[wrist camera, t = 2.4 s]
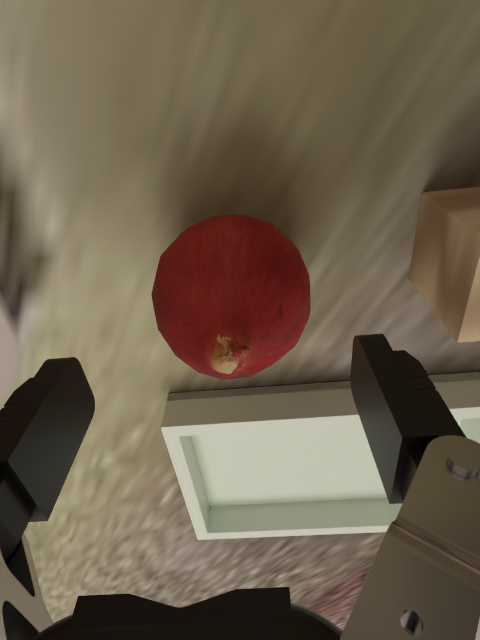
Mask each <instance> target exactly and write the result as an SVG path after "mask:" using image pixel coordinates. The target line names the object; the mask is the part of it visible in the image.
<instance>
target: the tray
mask: <svg viewBox="0 0 480 640" xmlns="http://www.w3.org/2000/svg"><path fill="white" fill-rule="evenodd" d="M428 378H429V379H431V381H432V382H433V384H434V386H435V387H436V391H438V392H439V394H440V395H441V397H442V399H443V400H444V402H445V404H446V405H447V407H448V408H449V410H450V412H451V413H452V415H453V417H454V418H455V420H456V421H457V423H458V425H459V426H460V428H461V429H462V431H463V433H464V434H465V436H466V437H467V438H468V439H471V440H473V441H476V442H478V443H480V372H468V373H454V374H440V375H428ZM161 429H162V432H163V436H164V439H165V442H166V445H167V448H168V451H169V454H170V457H171V460H172V463H173V466H174V469H175V472H176V475H177V478H178V481H179V484H180V487H181V490H182V493H183V496H184V499H185V502H186V505H187V508H188V511H189V514H190V517H191V521H192V524H193V527H194V530H195V533H196V536H197V539H198V540H205V539H229V538H252V537H276V536H300V535H324V534H348V533H372V532H387V529H388V527H389V526H390V524H391V522H392V521H395V520H396V518H397V515H398V513H399V511H400V508H401V506H402V504H403V503H400V504H389V501H388V498H387V495H386V493H385V490H384V487H383V484H382V481H381V478H380V475H379V472H378V469H377V466H376V463H375V460H374V458H373V455H372V452H371V449H370V446H369V443H368V440H367V437H366V434H365V431H364V428H363V426H362V423H361V420H360V417H359V414H358V411H357V408H356V405H355V402H354V399H353V395H352V390H351V381H339V382H325V383H311V384H296V385H282V386H268V387H253V388H239V389H225V390H210V391H196V392H182V393H169V395H168V399H167V403H166V407H165V412H164V416H163V420H162V424H161Z"/></svg>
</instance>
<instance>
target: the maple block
mask: <svg viewBox="0 0 480 640" xmlns="http://www.w3.org/2000/svg"><path fill="white" fill-rule="evenodd" d="M409 280H410V281H411V282H412V283H413V285H414V286H415V287H416V289H417V290H418V291H419V293H420V294H421V295H422V297H423V298H424V299H425V301H426V302H427V303H428V305H429V306H430V307H431V309H432V310H433V311H434V313H435V314H436V315H437V317H438V318H439V319H440V320H441V322H442V323H443V324H444V326H445V327H446V328H447V330H448V331H449V332H450V334H451V335H452V336H453V338H454V339H455V340H456V342H457V343H458V342H472V341H480V186H479V187H469V188H459V189H450V190H440V191H430V192H422V196H421V203H420V209H419V216H418V222H417V229H416V235H415V242H414V248H413V255H412V261H411V267H410V274H409Z"/></svg>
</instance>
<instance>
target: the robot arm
mask: <svg viewBox="0 0 480 640" xmlns="http://www.w3.org/2000/svg"><path fill="white" fill-rule="evenodd" d="M351 390H352V395H353V399H354V402H355V405H356V408H357V411H358V414H359V417H360V420H361V423H362V426H363V428H364V431H365V434H366V437H367V440H368V443H369V446H370V449H371V452H372V455H373V458H374V460H375V463H376V466H377V469H378V472H379V475H380V478H381V481H382V484H383V487H384V490H385V493H386V495H387V498H388V501H389V504H400V503H403V504H402V506H401V508H400V511H399V513H398V515H397V518H396V520H395V521H392V522H391V524H390V526H389V527H388V529H387V532H386V534H385V536H384V538H383V541H382V543H381V545H380V547H379V550H378V552H377V554H376V557H375V559H374V561H373V564H372V566H371V568H370V570H369V573H368V575H367V577H366V580H365V582H364V584H363V587H362V589H361V591H360V593H359V596H358V598H357V600H356V603H355V605H354V607H353V610H352V612H351V614H350V616H349V619H348V621H347V623H346V626H345V628H344V630H343V631H342V630H341V629H340V628H339V627H337V626H336V625H335V624H333V623H332V622H331V621H330V620H328V619H327V618H325V617H323V616H322V615H320V614H318V613H317V612H314V611H312V610H310V609H308V608H305V607H303V606H300V605H296V604H293V603H291V601H290V591H289V587H278V588H254V589H235V590H233V591H230V592H227V593H224V594H221V595H218V596H215V597H212V598H209V599H207V600H204V601H201V602H198V603H195V604H192V605H189V606H186V607H182V608H177V607H173V606H169V605H166V604H162V603H159V602H156V601H152V600H149V599H145V598H142V597H138V596H135V595H131V594H111V595H88V596H78V599H77V602H76V605H75V608H74V612H73V615H70V616H68V617H66V618H64V619H62V620H60V621H57V622H56V623H53V621H52V619H51V617H50V615H49V613H48V611H47V609H46V606H45V604H44V601H43V597H42V593H41V590H40V586H39V582H38V578H37V574H36V571H35V567H34V563H33V559H32V555H31V552H30V548H29V544H28V540H27V538H26V536H25V535H24V531H25V529H26V527H27V524H28V522H36V521H48V519H49V517H50V514H51V512H52V510H53V507H54V505H55V503H56V501H57V498H58V496H59V494H60V491H61V489H62V487H63V484H64V482H65V480H66V478H67V475H68V473H69V471H70V468H71V466H72V464H73V461H74V459H75V457H76V454H77V452H78V450H79V448H80V445H81V443H82V441H83V438H84V436H85V434H86V431H87V429H88V427H89V424H90V422H91V420H92V418H93V415H94V410H95V400H94V396H93V393H92V391H91V388H90V386H89V383H88V381H87V379H86V376H85V374H84V372H83V369H82V367H81V364H80V362H79V361H78V359H77V358H75V357H70V358H57V359H48V360H46V361H45V362H44V363H43V365H42V366H41V368H40V369H39V371H38V372H37V374H36V375H35V377H34V378H29V379H28V380H27V381H26V382H25V383H23V384H22V385H21V386H20V387H19V388H17V389H16V390H15V391H14V392H13V394H12V395H11V396H10V398H9V399H8V401H7V402H6V403H5V405H4V408H2V409H1V410H0V640H475V637H476V632H477V627H478V623H479V618H480V443H478V442H476V441H473V440H471V439H468V438H467V437H466V436H465V434H464V433H463V431H462V429H461V428H460V426H459V425H458V423H457V421H456V420H455V418H454V417H453V415H452V413H451V412H450V410H449V408H448V407H447V405H446V404H445V402H444V400H443V399H442V397H441V395H440V394H439V392H438V391H436V387H435V386H434V384H433V382H432V381H431V379H429V378H428V374H427V373H426V371H425V370H424V368H423V366H422V365H421V363H420V362H419V361H418V360H417V359H415V358H414V357H413V356H411V355H410V354H409V353H408V352H406V351H405V350H400V351H393V350H392V348H391V346H390V345H389V343H388V341H387V339H386V337H385V336H384V335H383V334H371V335H358V336H355V337H354V340H353V351H352V364H351Z"/></svg>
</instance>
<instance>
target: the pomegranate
mask: <svg viewBox="0 0 480 640" xmlns="http://www.w3.org/2000/svg"><path fill="white" fill-rule="evenodd" d="M152 300H153V306H154V311H155V316H156V321H157V326H158V330H159V331H160V333H161V334H162V336H163V337H164V339H165V340H166V342H167V343H168V345H169V346H170V348H171V349H172V351H173V352H174V354H175V355H176V356H177V357H178V358H180V359H181V360H182V361H184V362H185V363H186V364H188V365H189V366H190V367H192V368H193V369H194V370H196V371H197V372H199V373H203V374H206V375H210V376H213V377H217V378H220V379H234V378H245V377H251V376H253V375H255V374H256V373H258V372H260V371H262V370H264V369H266V368H268V367H269V366H271V365H273V364H274V363H275V362H276V361H278V360H279V359H280V358H281V357H282V356H284V355H285V354H286V353H287V352H288V351H290V350H291V349H292V348H293V347H294V346H295V345H296V343H297V342H298V340H299V338H300V336H301V334H302V332H303V330H304V328H305V325H306V323H307V321H308V319H309V314H310V280H309V274H308V271H307V269H306V267H305V264H304V262H303V259H302V257H301V255H300V252H299V250H298V249H297V247H296V246H295V245H294V244H293V242H292V241H290V240H289V239H288V238H287V237H286V236H285V235H284V234H283V233H282V232H281V231H280V230H279V229H277V228H276V227H275V226H274V225H273V224H271V223H268V222H265V221H262V220H259V219H256V218H253V217H249V216H246V215H229V216H213V217H211V218H209V219H207V220H204V221H202V222H200V223H198V224H195V225H193V226H191V227H189V228H187V229H186V230H185V231H183V232H182V233H181V234H180V235H179V236H178V237H177V238H176V240H175V241H174V242H173V243H172V244H171V245H170V246H169V247H168V248H167V249H166V251H165V252H164V253H163V254H162V255H161V257H160V260H159V264H158V268H157V273H156V277H155V281H154V286H153V290H152Z"/></svg>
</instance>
